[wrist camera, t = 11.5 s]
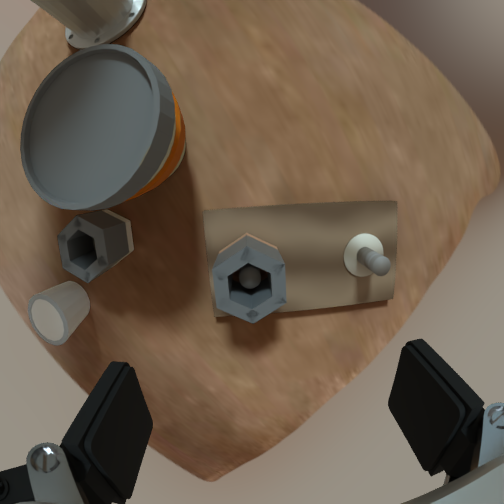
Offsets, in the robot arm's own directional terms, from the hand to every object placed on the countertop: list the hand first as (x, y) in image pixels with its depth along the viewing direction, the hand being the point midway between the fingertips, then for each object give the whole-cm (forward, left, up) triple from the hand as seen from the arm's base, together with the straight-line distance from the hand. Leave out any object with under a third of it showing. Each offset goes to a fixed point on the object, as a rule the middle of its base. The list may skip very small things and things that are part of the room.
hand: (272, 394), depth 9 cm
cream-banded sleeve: (-2, -17, -24) cm, 30 cm away
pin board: (+2, +6, -24) cm, 25 cm away
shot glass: (+6, -25, -24) cm, 35 cm away
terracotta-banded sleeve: (+2, -1, -22) cm, 22 cm away
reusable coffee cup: (-12, -11, -24) cm, 30 cm away
